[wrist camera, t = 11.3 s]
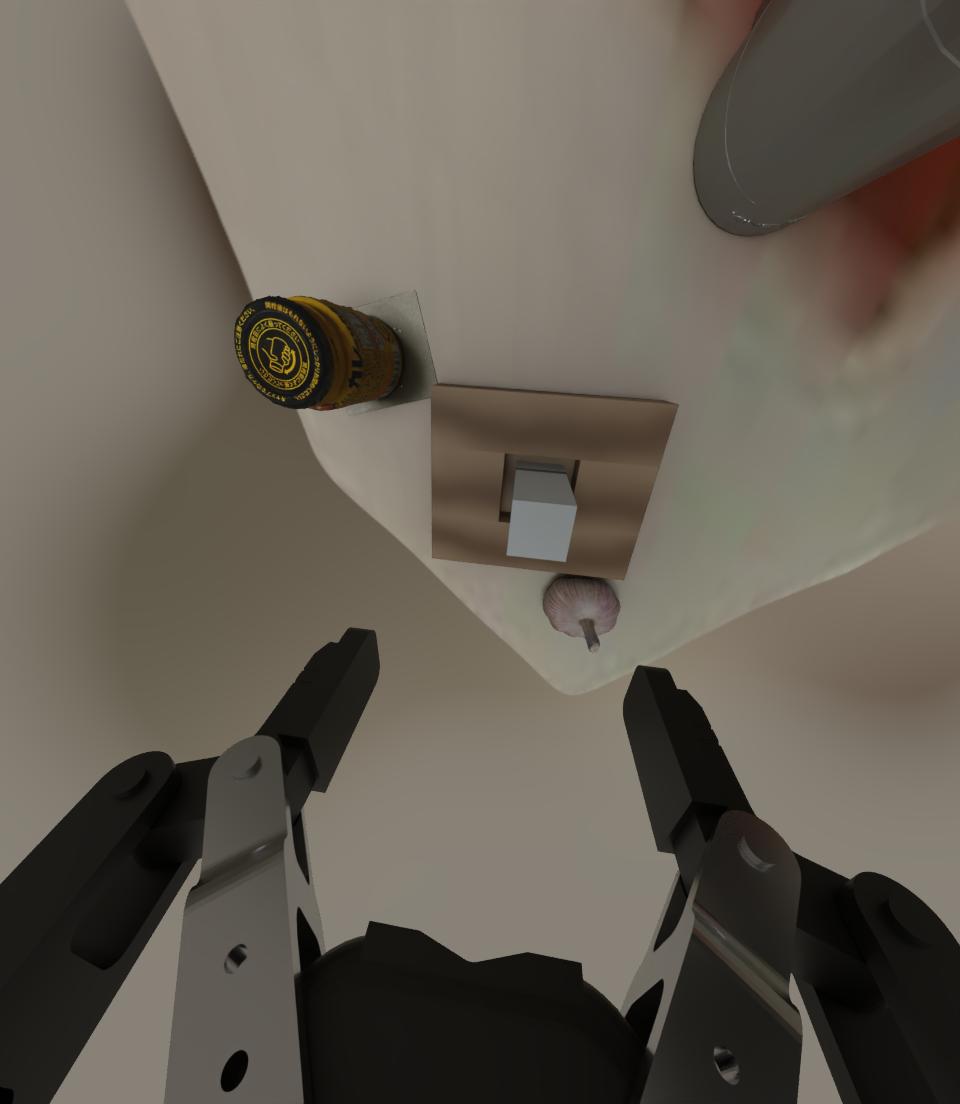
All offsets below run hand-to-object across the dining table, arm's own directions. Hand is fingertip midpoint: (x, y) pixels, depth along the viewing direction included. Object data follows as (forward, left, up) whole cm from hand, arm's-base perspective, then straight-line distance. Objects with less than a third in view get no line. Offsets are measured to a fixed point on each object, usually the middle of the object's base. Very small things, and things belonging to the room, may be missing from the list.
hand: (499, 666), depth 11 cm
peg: (+1, +2, -23) cm, 23 cm away
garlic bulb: (+13, +8, -24) cm, 28 cm away
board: (+1, +2, -24) cm, 24 cm away
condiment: (-8, -12, -24) cm, 28 cm away
